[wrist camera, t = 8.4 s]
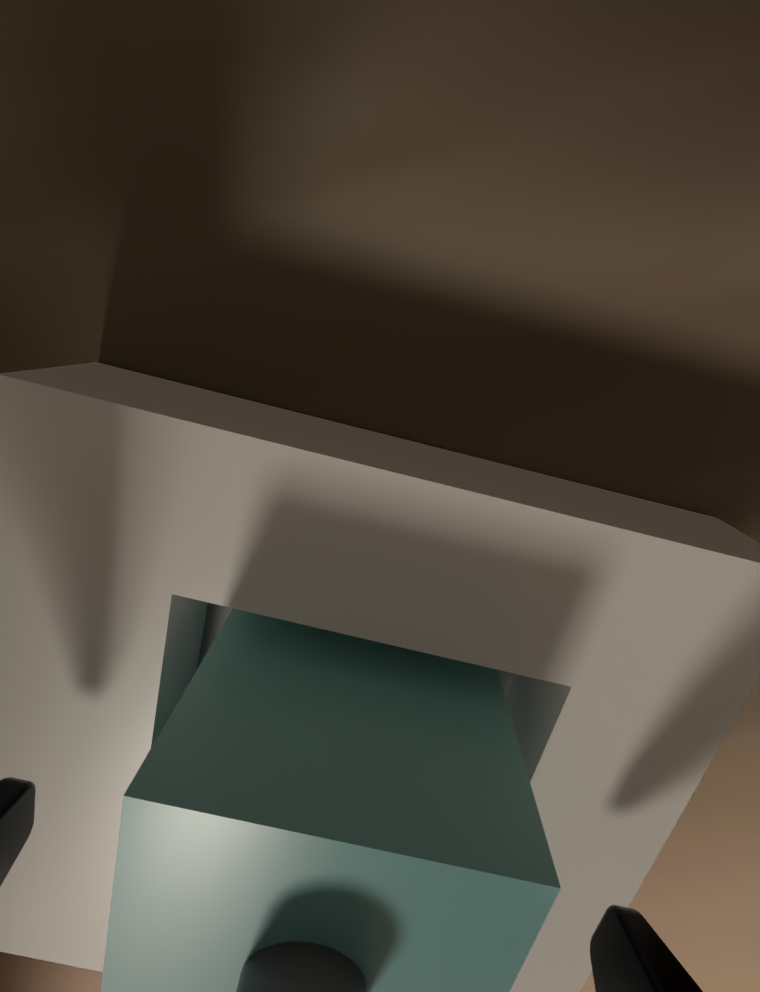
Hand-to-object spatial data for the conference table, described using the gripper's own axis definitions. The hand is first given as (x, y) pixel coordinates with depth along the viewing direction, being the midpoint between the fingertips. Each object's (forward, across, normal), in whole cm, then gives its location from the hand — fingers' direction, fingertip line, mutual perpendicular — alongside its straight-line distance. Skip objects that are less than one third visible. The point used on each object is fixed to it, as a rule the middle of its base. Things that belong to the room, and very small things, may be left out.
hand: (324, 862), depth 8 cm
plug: (+4, 0, 0) cm, 4 cm away
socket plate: (+4, 0, 0) cm, 4 cm away
